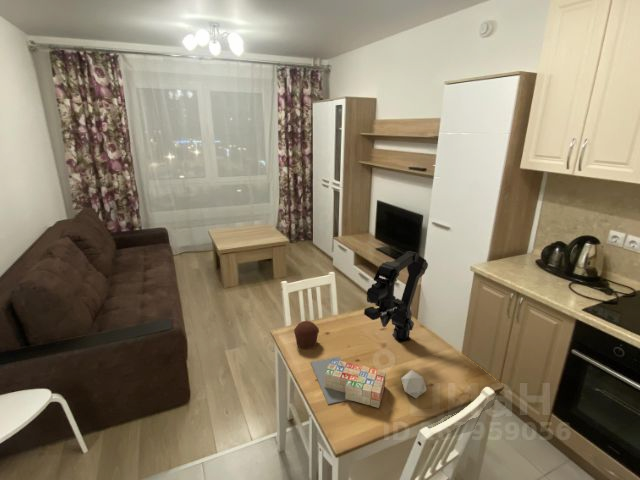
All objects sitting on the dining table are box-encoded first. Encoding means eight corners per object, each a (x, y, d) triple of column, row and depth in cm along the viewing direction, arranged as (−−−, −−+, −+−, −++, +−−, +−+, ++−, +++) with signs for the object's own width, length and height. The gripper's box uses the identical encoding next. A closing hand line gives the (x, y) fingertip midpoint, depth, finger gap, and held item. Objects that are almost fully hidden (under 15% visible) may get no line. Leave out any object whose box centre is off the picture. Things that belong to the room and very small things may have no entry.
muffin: (294, 336, 160) (293, 317, 157) (317, 335, 161) (317, 316, 158) (294, 351, 149) (294, 331, 146) (319, 350, 150) (320, 330, 147)
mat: (339, 357, 145) (339, 356, 145) (362, 397, 123) (362, 396, 123) (310, 362, 141) (310, 361, 141) (328, 404, 119) (328, 403, 119)
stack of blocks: (331, 371, 136) (321, 392, 125) (332, 358, 134) (321, 378, 123) (385, 385, 128) (378, 408, 117) (386, 371, 127) (380, 394, 116)
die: (404, 403, 121) (423, 390, 117) (392, 379, 127) (410, 366, 122) (417, 400, 127) (435, 388, 122) (405, 378, 132) (423, 365, 127)
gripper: (390, 281, 151) (387, 312, 156) (356, 290, 142) (355, 323, 146) (408, 291, 142) (405, 323, 147) (374, 301, 133) (371, 336, 137)
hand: (384, 326), depth 145 cm, fingers closed
